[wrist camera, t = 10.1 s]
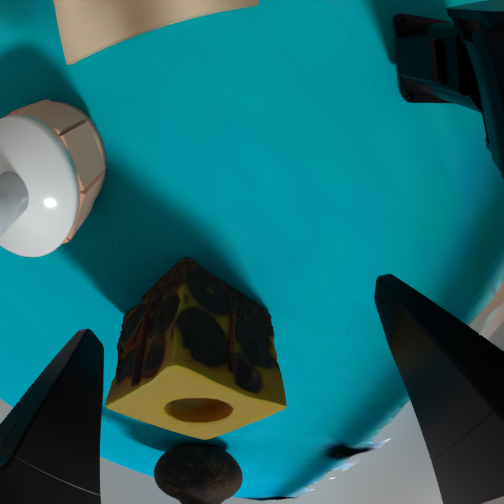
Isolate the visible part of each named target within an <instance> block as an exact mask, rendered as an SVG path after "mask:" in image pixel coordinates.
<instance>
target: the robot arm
mask: <svg viewBox="0 0 504 504" xmlns="http://www.w3.org/2000/svg"><path fill="white" fill-rule="evenodd" d="M446 11H447V13H448V15H449V17H451V18H452V20H453V23H450V22H446V21H441V20H436V19H431V18H426V17H420V16H413V15H406V14H397V15H395V16H394V18H393V20H394V26H395V32H396V49H397V57H398V66H399V74H400V75H401V84H402V96H403V98H404V100H405V101H407V102H411V103H456V104H459V105H461V106H464V107H467V108H470V109H472V110H475V111H477V112H480V113H482V116H483V121H484V126H485V132H486V139H485V140H486V146H487V148H488V149H489V151H490V152H491V154H492V159H493V161H494V163H495V164H496V166H497V167H498V169H499V170H500V171H501V172H502V178H503V179H504V0H489V1H482V2H475V3H469V4H464V5H459V6H454V7H449V8H446ZM400 18H401V19H402V20H403V23H401V22H400ZM409 93H411V97H410V98H409V97H408V94H409ZM374 299H375V304H376V307H377V310H378V313H379V316H380V320H381V323H382V326H383V329H384V332H385V336H386V339H387V342H388V345H389V348H390V351H391V353H392V355H393V358H394V360H395V363H396V365H397V367H398V370H399V372H400V375H401V377H402V380H403V382H404V385H405V387H406V390H407V392H408V395H409V398H410V400H411V403H412V406H413V408H414V411H415V414H416V416H417V419H418V422H419V425H420V428H421V431H422V434H423V437H424V440H425V442H426V446H427V449H428V452H429V455H430V458H431V460H432V464H433V468H434V472H435V475H436V479H437V482H438V485H439V489H440V493H441V497H442V501H443V504H504V351H503V350H501V349H500V348H498V347H497V346H496V345H494V344H492V343H491V342H490V341H488V340H487V339H486V338H484V337H483V336H482V335H480V336H479V333H477V332H476V331H475V330H473V329H471V328H470V327H469V326H468V325H466V324H465V323H463V322H462V321H461V320H459V319H458V318H456V317H455V316H453V315H452V314H451V313H449V312H448V311H446V310H445V309H443V308H442V307H440V306H439V305H437V304H436V303H435V302H433V301H432V300H430V299H429V298H427V297H426V296H424V295H423V294H421V293H420V292H418V291H417V290H415V289H414V288H412V287H411V286H409V285H407V284H406V283H404V282H403V281H401V280H400V279H398V278H397V277H395V276H394V275H392V274H385V275H381V276H378V277H377V280H376V287H375V295H374ZM103 372H104V347H103V345H102V343H101V342H100V340H99V339H98V338H97V337H96V335H95V334H94V333H93V332H92V330H90V329H82V330H79V331H78V332H77V333H76V334H75V335H74V336H73V337H72V338H71V339H70V340H69V342H68V343H67V344H66V345H65V346H64V347H63V348H62V350H61V351H60V352H59V353H58V354H57V355H56V356H55V358H54V359H53V360H52V361H51V362H50V363H49V365H48V366H47V367H46V368H45V369H44V371H43V372H42V373H41V374H40V375H39V377H38V378H37V379H36V380H35V381H34V383H33V384H32V385H31V386H30V388H29V389H28V390H27V391H26V393H25V394H24V395H23V396H22V398H21V399H20V400H19V402H18V403H17V404H16V405H15V407H14V408H13V409H12V410H11V412H10V413H9V414H8V415H7V417H6V418H5V419H4V420H3V422H2V423H1V424H0V504H101V497H100V433H101V414H102V401H103Z"/></svg>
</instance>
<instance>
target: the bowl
mask: <svg viewBox="0 0 504 504" xmlns="http://www.w3.org/2000/svg"><path fill="white" fill-rule="evenodd" d="M13 114H25V115H30V116H33V117H36V118H38V119H40V120H41V121H43V122H45V123H46V124H47V125H49V126H50V127H51V128H52V129H53V130H54V131H55V132H56V133H57V134H58V135H59V137H60V138H61V139H62V141H63V142H64V144H65V145H66V147H67V149H68V150H69V152H70V154H71V157H72V159H73V161H74V164H75V167H76V170H77V175H78V179H79V186H80V205H79V211H78V215H77V218H76V221H75V224H74V226H73V227H72V229H71V231H70V232H69V234H68V235H67V236H66V238H65V239H64V241H63V242H62V243H61V244H64V243H67V242H69V241H70V239H72V237H73V236H74V234H75V233H76V232H77V230H78V229H79V227H80V226H81V225H82V223H83V222H84V220H85V219H86V218H87V216H88V215H89V214H90V212H91V209H92V206H93V204H94V201H95V199H96V198H97V196H98V195H99V193H100V191H101V189H102V187H103V184H104V181H105V176H106V167H107V161H106V152H105V147H104V143H103V140H102V137H101V135H100V133H99V131H98V129H97V127H96V125H95V124H94V123H93V121H92V120H91V119H90V118H89V117H88V116H87V115H86V114H85V113H84V112H83V111H81V110H80V109H79V108H77V107H75V106H73V105H71V104H68V103H65V102H58V101H50V100H48V99H47V100H41V101H39V102H36V103H33V104H30V105H27V106H25V107H22V108H19V109H17V110H14V111H12V112H11V113H10V114H8V115H13ZM8 115H7V116H8ZM5 117H6V116H5Z"/></svg>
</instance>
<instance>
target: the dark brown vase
mask: <svg viewBox="0 0 504 504" xmlns="http://www.w3.org/2000/svg"><path fill="white" fill-rule="evenodd" d="M154 478H155V481H156V483H157V485H158V487H159V488H160V489H161V490H162V491H163V492H164V493H166V494H167V495H169V496H171V497H173V498H176V499H177V500H179V501H180V502H181V504H221V503H222V502H223V501H224V500H226V499H228V498H230V497H231V496H233V495H234V494H235V493H236V492H237V491H238V490H239V488H240V487H241V484H242V471H241V468H240V466H239V464H238V463H237V461H236V460H235V459H234V458H233V457H232V456H231V455H230V454H229V453H227V452H226V451H224V450H222V449H220V448H217V447H214V446H209V445H200V444H189V445H180V446H177V447H174V448H172V449H170V450H168V451H167V452H165V453H164V454H163V455H162V456H161V457H160V459H159V460H158V462H157V463H156V466H155V469H154Z"/></svg>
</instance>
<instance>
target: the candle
mask: <svg viewBox="0 0 504 504" xmlns="http://www.w3.org/2000/svg"><path fill="white" fill-rule="evenodd" d="M142 299H143V302H142V303H141V304H139V305H138V306H136V307H135V308H133V309H132V310H130V311H129V312H127V313H126V315H125V316H124V318H123V324H122V331H121V335H120V337H119V341H118V344H117V350H118V364H117V368H116V376H115V377H114V379H113V381H112V383H111V387H110V391H109V394H108V396H107V399H106V405H105V406H106V408H107V409H110V410H113V411H116V412H118V413H121V414H123V415H126V416H129V417H131V418H134V419H137V420H140V421H143V422H146V423H149V424H152V425H155V426H158V427H161V428H164V429H167V430H170V431H173V432H177V433H180V434H183V435H187V436H191V437H195V438H199V439H204V440H206V439H210V438H213V437H216V436H219V435H222V434H225V433H228V432H230V431H233V430H235V429H238V428H241V427H243V426H245V425H248V424H250V423H253V422H256V421H258V420H261V419H263V418H265V417H267V416H270V415H272V414H274V413H277V412H279V411H281V410H284V409H285V408H286V396H285V391H284V385H283V380H282V376H281V371H280V369H279V364H278V363H277V354H276V351H275V346H274V330H273V326H272V323H271V315H270V314H269V313H268V312H267V311H266V310H265V309H264V308H262V307H260V306H258V305H257V304H256V302H254V301H253V300H251V299H248V298H246V296H244V295H243V294H241V293H240V292H239V291H236V290H235V289H234V288H233V287H231V286H229V285H227V283H226V282H224V281H222V280H220V279H218V278H217V277H215V276H213V275H212V274H211V273H210V272H208V271H207V270H206V269H204V268H203V267H201V266H199V265H198V264H196V262H195V261H194V260H193V259H187V258H183V259H181V260H180V261H179V262H178V263H177V264H176V265H175V266H174V267H173V268H172V269H171V270H170V271H169V272H168V273H167V274H166V275H163V277H162V278H160V279H159V280H158V281H157V282H156V283H155V285H154V286H153V287H151V288H150V289H149V290H148V291H147V292H146V295H144V296H142Z"/></svg>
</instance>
